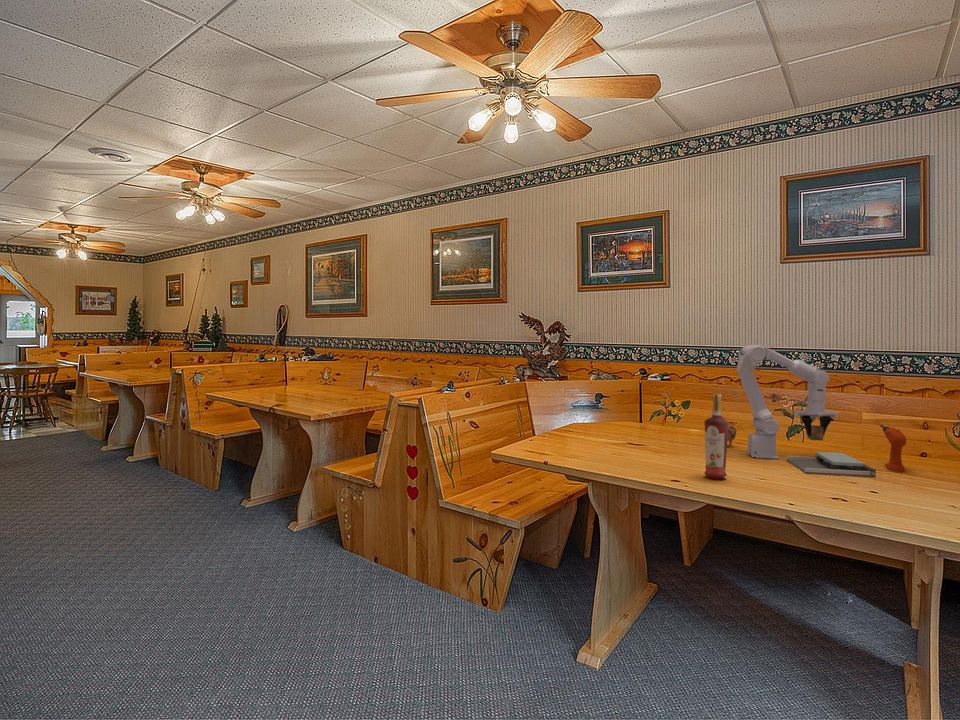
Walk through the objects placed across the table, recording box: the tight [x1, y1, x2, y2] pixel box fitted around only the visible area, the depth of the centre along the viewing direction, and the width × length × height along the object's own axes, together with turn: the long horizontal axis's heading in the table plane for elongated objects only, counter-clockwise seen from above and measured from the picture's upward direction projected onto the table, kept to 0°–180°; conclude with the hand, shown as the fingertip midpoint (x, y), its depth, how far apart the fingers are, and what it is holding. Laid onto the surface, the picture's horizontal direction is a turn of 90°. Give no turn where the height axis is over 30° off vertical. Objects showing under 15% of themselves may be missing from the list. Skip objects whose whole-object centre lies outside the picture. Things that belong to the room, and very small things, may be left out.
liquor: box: [703, 393, 730, 480], centre depth 174 cm, size 7×7×28 cm
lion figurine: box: [727, 425, 737, 448], centre depth 221 cm, size 15×5×9 cm, turn 112°
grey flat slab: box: [814, 451, 864, 471], centre depth 186 cm, size 9×16×3 cm, turn 166°
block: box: [807, 424, 824, 441], centre depth 202 cm, size 4×4×5 cm
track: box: [786, 455, 877, 478], centre depth 186 cm, size 21×19×2 cm
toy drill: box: [879, 424, 907, 473], centre depth 189 cm, size 5×19×15 cm, turn 161°
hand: (815, 435), depth 202 cm, fingers closed on block, 4 cm apart
